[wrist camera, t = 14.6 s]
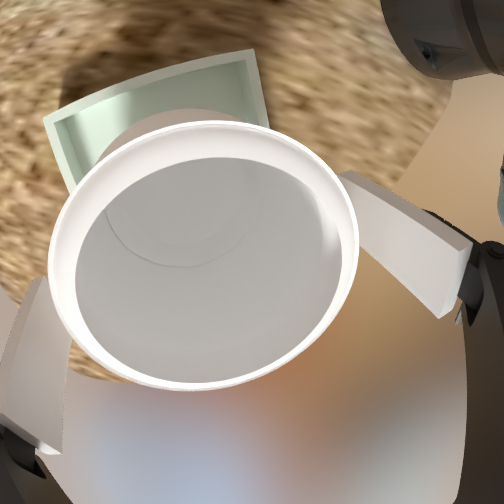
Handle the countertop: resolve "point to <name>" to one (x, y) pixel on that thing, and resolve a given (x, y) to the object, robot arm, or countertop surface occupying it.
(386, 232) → the robot arm
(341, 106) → the countertop surface
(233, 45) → the countertop surface
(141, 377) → the jar
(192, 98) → the tray
